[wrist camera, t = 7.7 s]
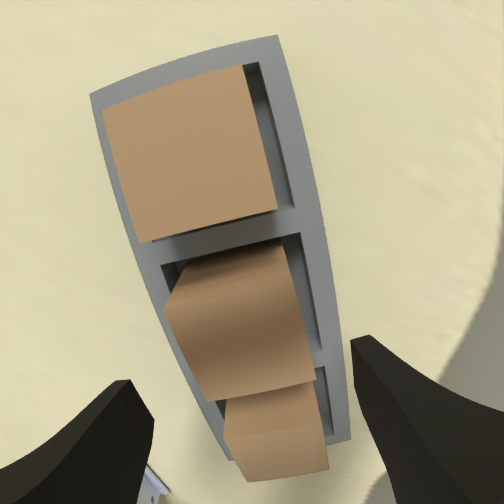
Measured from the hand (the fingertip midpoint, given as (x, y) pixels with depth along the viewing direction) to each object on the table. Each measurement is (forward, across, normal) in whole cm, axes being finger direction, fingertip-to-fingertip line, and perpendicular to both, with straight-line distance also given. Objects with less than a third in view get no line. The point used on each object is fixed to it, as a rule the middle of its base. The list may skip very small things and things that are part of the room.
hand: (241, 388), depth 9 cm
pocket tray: (+8, 0, 0) cm, 8 cm away
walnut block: (+7, 0, 0) cm, 7 cm away
